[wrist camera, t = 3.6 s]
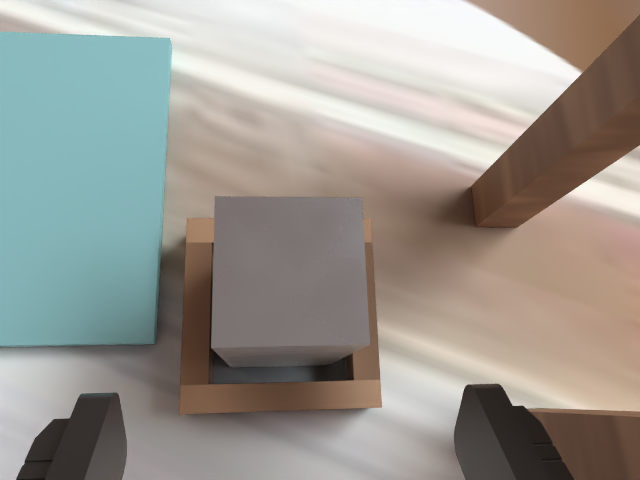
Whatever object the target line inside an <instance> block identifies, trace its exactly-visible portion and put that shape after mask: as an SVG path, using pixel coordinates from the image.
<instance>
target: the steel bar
mask: <svg viewBox="0 0 640 480" xmlns="http://www.w3.org/2000/svg"><path fill="white" fill-rule="evenodd" d="M368 345H370V335H369V316H368V298H367V280H366V261H365V243H364V225H363V207H362V198H340V197H219V196H215V215H214V255H213V294H212V334H211V348H212V349H213V350H214V351H215V352H216V353H217V354H218V355H219V356H220V357H221V358H222V359H223V360H224V361H225V362H226V363H227V364H228V365H229V366H230V367H271V366H311V365H330V364H332V363H334V362H336V361H338V360H340V359H342V358H344V357H346V356H348V355H350V354H352V353H354V352H356V351H358V350H360V349H362V348H364V347H366V346H368Z"/></svg>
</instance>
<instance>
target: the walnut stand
mask: <svg viewBox="0 0 640 480" xmlns="http://www.w3.org/2000/svg"><path fill="white" fill-rule="evenodd" d="M639 145H640V15H639V16H638V17H637V18H636V19H635V20H634V21H633V22H632V23H631V24H630V25H629V26H628V27H627V28H626V30H625V31H623V33H622V34H621V35H620V36H619V37H618V38H617V39H616V40H615V41H614V42H613V43H612V44H611V45H610V46H609V47H608V48H607V49H606V50H605V51H604V52H603V53H602V54H601V55H600V56H599V57H598V58H597V59H596V60H595V61H594V62H593V63H592V64H591V65H590V66H589V67H588V68H587V69H586V70H585V71H584V72H583V73H582V74H581V75H580V76H579V77H578V78H577V79H576V80H575V81H574V82H573V83H572V84H571V85H570V86H569V87H568V88H567V89H566V90H565V91H564V92H563V93H562V94H561V95H560V97H559V98H558V99H557V100H556V101H555V102H554V103H553V104H552V105H551V106H550V107H549V108H548V109H547V110H546V111H545V112H544V113H543V114H542V115H541V116H540V117H539V118H538V119H537V120H536V121H535V122H534V123H533V124H532V125H531V126H530V127H529V128H528V129H527V130H526V131H525V132H524V133H523V134H522V135H521V136H520V137H519V138H518V139H517V140H516V141H515V142H514V143H513V144H512V145H511V146H510V147H509V148H508V149H507V150H506V151H505V152H504V153H503V154H502V155H501V156H500V157H499V158H498V160H497V161H496V162H495V163H494V164H493V165H492V166H491V167H490V168H489V169H488V170H487V171H486V172H485V173H484V174H483V175H482V176H481V177H480V178H479V179H478V180H477V181H476V182H475V183H474V184H473V185H472V186H471V188H472V197H473V205H474V214H475V223H476V227H518V226H520V225H521V224H523V223H524V222H526V221H527V220H529V219H530V218H532V217H533V216H535V215H536V214H538V213H539V212H541V211H542V210H544V209H545V208H547V207H548V206H550V205H551V204H553V203H554V202H556V201H557V200H559V199H560V198H562V197H563V196H565V195H566V194H568V193H569V192H571V191H572V190H574V189H575V188H577V187H578V186H580V185H581V184H582V183H584V182H585V181H587V180H588V179H590V178H591V177H593V176H594V175H596V174H597V173H599V172H600V171H602V170H603V169H605V168H606V167H608V166H609V165H611V164H612V163H614V162H615V161H617V160H618V159H620V158H621V157H623V156H624V155H626V154H627V153H629V152H630V151H632V150H633V149H635V148H636V147H638V146H639ZM363 225H364V243H365V261H366V280H367V298H368V316H369V335H370V345H368V346H366V347H364V348H362V349H360V350H358V351H356V352H354V353H352V354H350V355H348V356H346V357H345V365H346V381H317V382H282V383H247V384H213V359H214V350H213V349H212V348H211V334H212V294H213V255H214V218H187V226H186V251H185V277H184V302H183V327H182V352H181V377H180V402H179V414H201V413H231V412H260V411H290V410H319V409H349V408H378V407H382V401H381V385H380V368H379V351H378V334H377V317H376V300H375V283H374V266H373V249H372V232H371V219H363ZM527 410H528V411H529V412H530V413H532V414H533V415H534V416H535V417H536V418H537V419H538V420H539V421H540V422H541V423H542V424H543V426H544V428H545V430H546V431H547V433H548V435H549V437H550V438H551V440H552V442H553V446H555V447H556V449H557V451H558V452H559V454H560V456H561V458H562V462H564V463H565V465H566V466H567V468H568V470H569V471H570V473H571V475H572V477H573V478H574V480H640V412H635V411H606V410H577V409H548V408H537V409H527Z"/></svg>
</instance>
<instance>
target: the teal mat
mask: <svg viewBox="0 0 640 480" xmlns="http://www.w3.org/2000/svg"><path fill="white" fill-rule="evenodd" d="M171 55H172V44H171V41H170V38H152V37H125V36H99V35H72V34H46V33H20V32H0V347H35V346H84V345H133V344H156V339H157V320H158V301H159V282H160V263H161V244H162V225H163V206H164V187H165V168H166V149H167V130H168V111H169V92H170V73H171Z"/></svg>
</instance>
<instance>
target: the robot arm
mask: <svg viewBox="0 0 640 480" xmlns="http://www.w3.org/2000/svg"><path fill="white" fill-rule="evenodd" d="M454 443H455V450H456V454H457V457H458V460H459V463H460V466H461V468H462V471H463V474H464V476H465V479H466V480H574V478H573V477H572V475H571V473H570V471H569V470H568V468H567V466H566V465H565V463H564V462H562V458H561V456H560V454H559V452H558V451H557V449H556V447H555V446H553V442H552V440H551V438H550V437H549V435H548V433H547V431H546V430H545V428H544V426H543V424H542V423H541V422H540V421H539V420H538V419H537V418H536V417H535V416H534V415H533V414H532V413H530V412H529V411H528V410H527V409H526V408H525V407H524V406H512V404H511V402H510V400H509V398H508V396H507V395H506V393H505V391H504V389H503V388H502V386H501V385H499V384H473V385H467V386H466V387H465V389H464V392H463V396H462V401H461V405H460V409H459V413H458V417H457V422H456V426H455V431H454ZM126 455H127V440H126V434H125V428H124V422H123V416H122V411H121V405H120V399H119V396H118V394H117V393H90V394H81V395H80V396H79V398H78V400H77V402H76V405H75V407H74V410H73V412H72V415H71V417H70V419H53V421H52V422H51V423H50V424H49V425H48V426H47V427H46V428H45V429H44V430H43V431H42V432H41V433H40V434H39V435H38V436H37V437H36V438H35V440H34V442H33V444H32V446H31V448H30V450H29V453H28V455H27V457H26V459H25V464H24V465H23V466H22V468H21V470H20V472H19V474H18V476H17V479H16V480H122V476H123V472H124V468H125V463H126Z"/></svg>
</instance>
